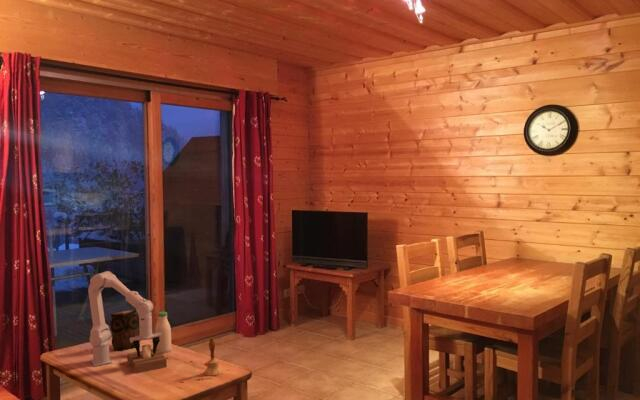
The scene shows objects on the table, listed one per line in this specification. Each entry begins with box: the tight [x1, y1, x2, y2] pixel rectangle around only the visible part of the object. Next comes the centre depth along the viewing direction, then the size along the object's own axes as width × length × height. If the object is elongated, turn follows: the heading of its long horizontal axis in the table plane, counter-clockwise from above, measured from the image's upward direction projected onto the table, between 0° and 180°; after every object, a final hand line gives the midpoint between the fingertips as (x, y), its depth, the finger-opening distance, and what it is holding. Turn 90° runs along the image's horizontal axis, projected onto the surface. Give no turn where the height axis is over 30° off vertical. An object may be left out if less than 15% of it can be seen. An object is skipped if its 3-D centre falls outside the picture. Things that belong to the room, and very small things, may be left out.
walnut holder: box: [127, 348, 168, 374], centre depth 250 cm, size 18×14×4 cm
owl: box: [110, 308, 141, 352], centre depth 275 cm, size 13×13×20 cm
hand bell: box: [203, 337, 223, 377], centre depth 238 cm, size 8×8×16 cm
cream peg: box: [141, 344, 152, 359], centre depth 250 cm, size 4×4×9 cm
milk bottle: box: [154, 311, 172, 354], centre depth 269 cm, size 8×8×20 cm
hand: (146, 354), depth 250 cm, fingers open, 7 cm apart
